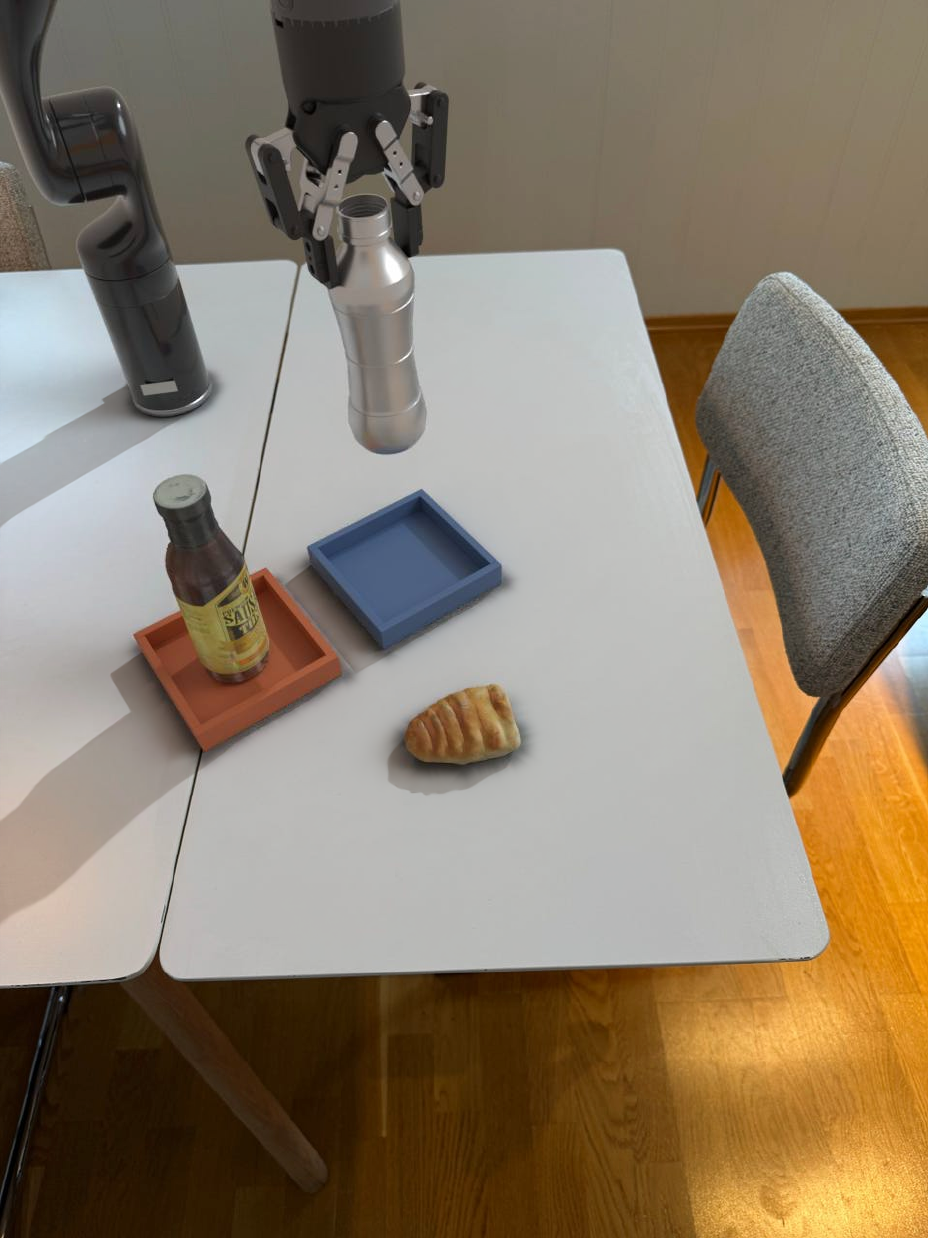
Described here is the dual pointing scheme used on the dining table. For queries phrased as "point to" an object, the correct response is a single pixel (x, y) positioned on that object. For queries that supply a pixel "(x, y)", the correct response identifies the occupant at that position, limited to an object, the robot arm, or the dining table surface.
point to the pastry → (464, 727)
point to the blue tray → (404, 567)
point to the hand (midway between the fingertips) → (368, 267)
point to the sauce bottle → (211, 583)
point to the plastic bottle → (377, 328)
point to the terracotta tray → (234, 707)
